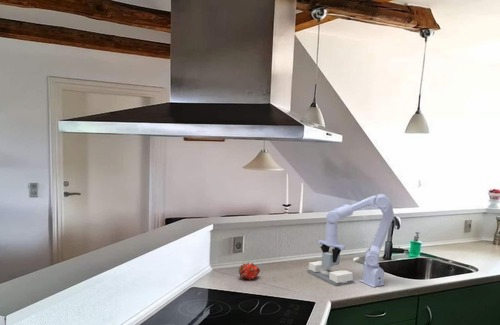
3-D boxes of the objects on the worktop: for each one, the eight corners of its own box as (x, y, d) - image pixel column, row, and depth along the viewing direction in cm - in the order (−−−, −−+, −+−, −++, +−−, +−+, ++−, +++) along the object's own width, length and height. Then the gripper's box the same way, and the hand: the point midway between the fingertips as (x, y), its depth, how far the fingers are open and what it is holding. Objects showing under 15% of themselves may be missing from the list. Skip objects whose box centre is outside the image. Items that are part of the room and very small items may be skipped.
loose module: (339, 264, 190) (340, 252, 190) (329, 267, 184) (329, 255, 184) (331, 262, 193) (332, 250, 193) (321, 264, 187) (322, 253, 187)
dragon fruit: (235, 282, 180) (257, 283, 185) (243, 277, 174) (265, 277, 179) (234, 265, 185) (255, 266, 190) (241, 259, 179) (263, 260, 184)
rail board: (354, 282, 182) (354, 272, 182) (335, 286, 176) (335, 276, 176) (324, 269, 201) (325, 260, 201) (307, 271, 195) (307, 262, 195)
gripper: (348, 236, 185) (347, 263, 186) (324, 230, 196) (323, 256, 196) (340, 238, 180) (339, 265, 181) (316, 232, 191) (315, 258, 191)
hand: (330, 261), depth 188 cm, fingers closed on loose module, 4 cm apart
